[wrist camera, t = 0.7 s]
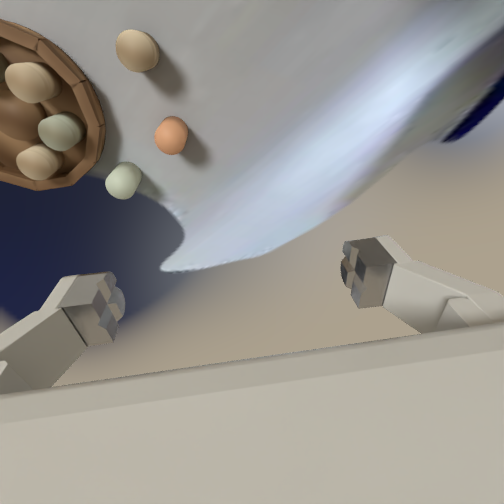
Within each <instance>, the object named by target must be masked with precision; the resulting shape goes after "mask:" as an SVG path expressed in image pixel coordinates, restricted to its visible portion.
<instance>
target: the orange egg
mask: <svg viewBox="0 0 504 504" xmlns="http://www.w3.org/2000/svg"><path fill="white" fill-rule="evenodd" d="M187 136H188V128H187V126H186V124H185V122H184V121H183V120H182V119H180V118H178V117H175V116H170V117H167V118H165V119H164V120H163V121H162V123H161V124H160V126H159V127H158V129H157V130H156V132H155V143H156V145H157V147H158V148H159V149H160V150H161V151H162V152H164V153H166V154H169V155H175V154H178V153H180V152H181V151H182V150H183V148H184V146H185V143H186V140H187Z"/></svg>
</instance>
